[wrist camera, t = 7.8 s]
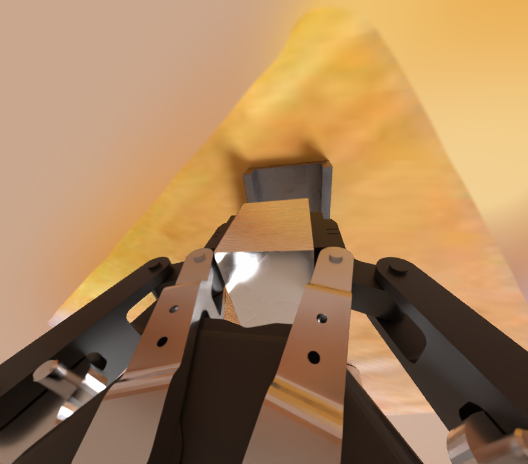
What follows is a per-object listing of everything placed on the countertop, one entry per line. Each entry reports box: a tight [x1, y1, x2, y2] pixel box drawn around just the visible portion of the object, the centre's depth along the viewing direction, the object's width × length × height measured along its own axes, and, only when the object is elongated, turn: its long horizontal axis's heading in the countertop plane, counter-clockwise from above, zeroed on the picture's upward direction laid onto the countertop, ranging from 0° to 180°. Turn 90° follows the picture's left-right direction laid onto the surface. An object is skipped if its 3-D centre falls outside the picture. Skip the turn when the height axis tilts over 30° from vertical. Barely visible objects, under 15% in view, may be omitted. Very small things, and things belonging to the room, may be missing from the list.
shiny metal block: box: [214, 198, 314, 328], centre depth 12 cm, size 11×4×5 cm, turn 9°
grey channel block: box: [243, 160, 333, 219], centre depth 24 cm, size 9×10×3 cm
